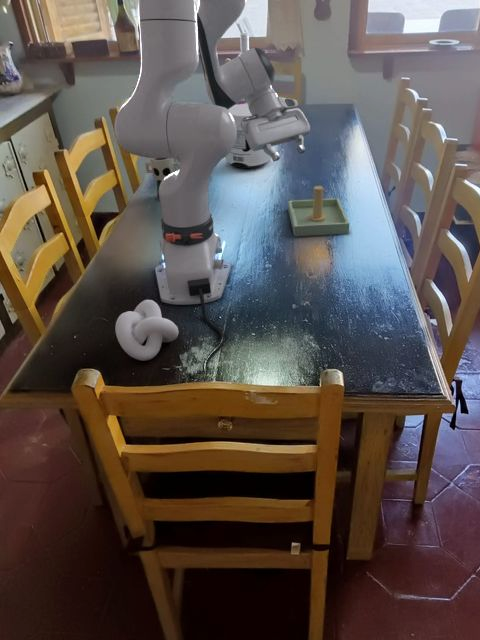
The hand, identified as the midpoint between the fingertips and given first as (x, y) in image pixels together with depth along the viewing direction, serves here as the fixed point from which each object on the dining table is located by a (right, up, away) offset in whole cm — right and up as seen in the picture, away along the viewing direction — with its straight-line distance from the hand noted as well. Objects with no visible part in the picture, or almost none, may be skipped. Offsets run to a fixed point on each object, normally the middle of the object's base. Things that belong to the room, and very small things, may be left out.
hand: (290, 155), depth 148 cm
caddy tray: (+8, -18, +2) cm, 20 cm away
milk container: (-13, +12, +40) cm, 44 cm away
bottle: (-15, +57, +95) cm, 112 cm away
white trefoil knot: (-30, -54, -40) cm, 74 cm away
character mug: (-38, -7, +18) cm, 43 cm away
